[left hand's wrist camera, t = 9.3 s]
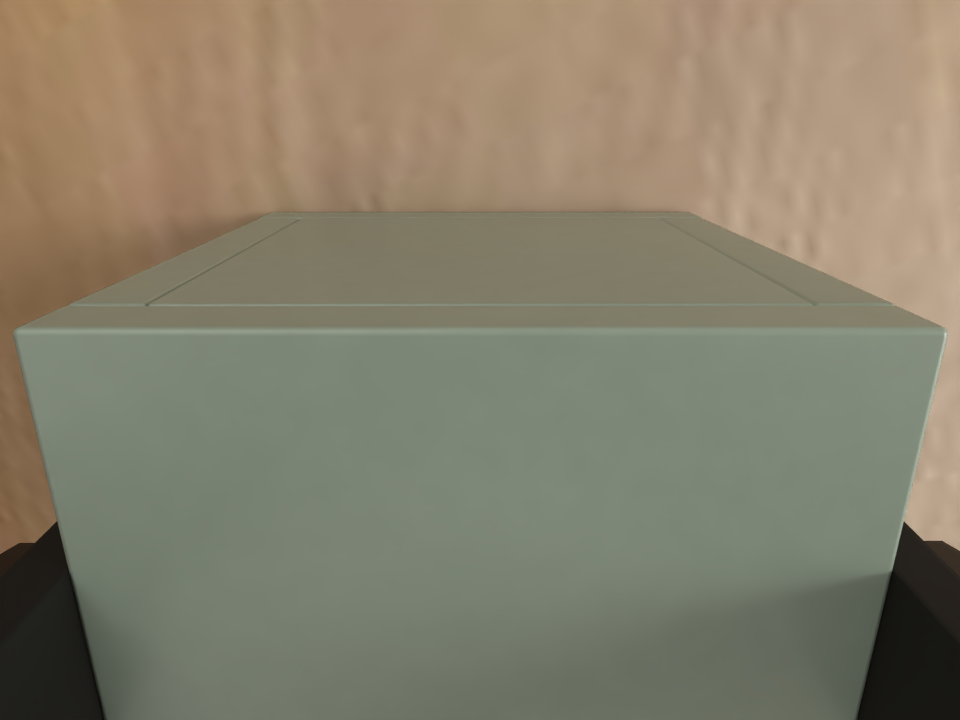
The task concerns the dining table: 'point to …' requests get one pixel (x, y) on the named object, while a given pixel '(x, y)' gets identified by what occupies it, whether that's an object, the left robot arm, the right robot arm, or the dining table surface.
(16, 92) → the dining table surface
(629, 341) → the cabinet
